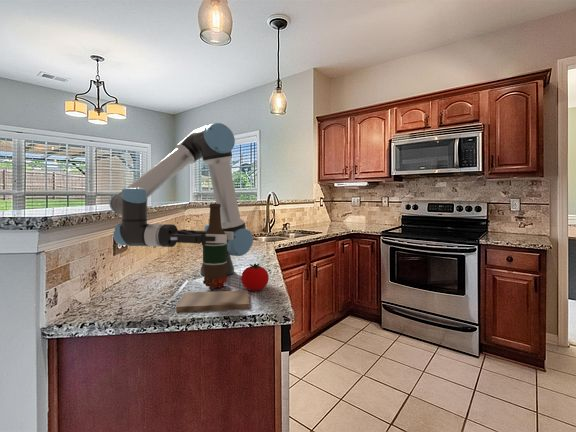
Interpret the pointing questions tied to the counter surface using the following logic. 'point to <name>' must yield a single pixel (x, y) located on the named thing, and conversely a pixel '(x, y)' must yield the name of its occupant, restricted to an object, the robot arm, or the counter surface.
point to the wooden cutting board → (213, 301)
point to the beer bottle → (214, 247)
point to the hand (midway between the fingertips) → (229, 237)
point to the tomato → (254, 277)
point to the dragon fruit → (215, 282)
